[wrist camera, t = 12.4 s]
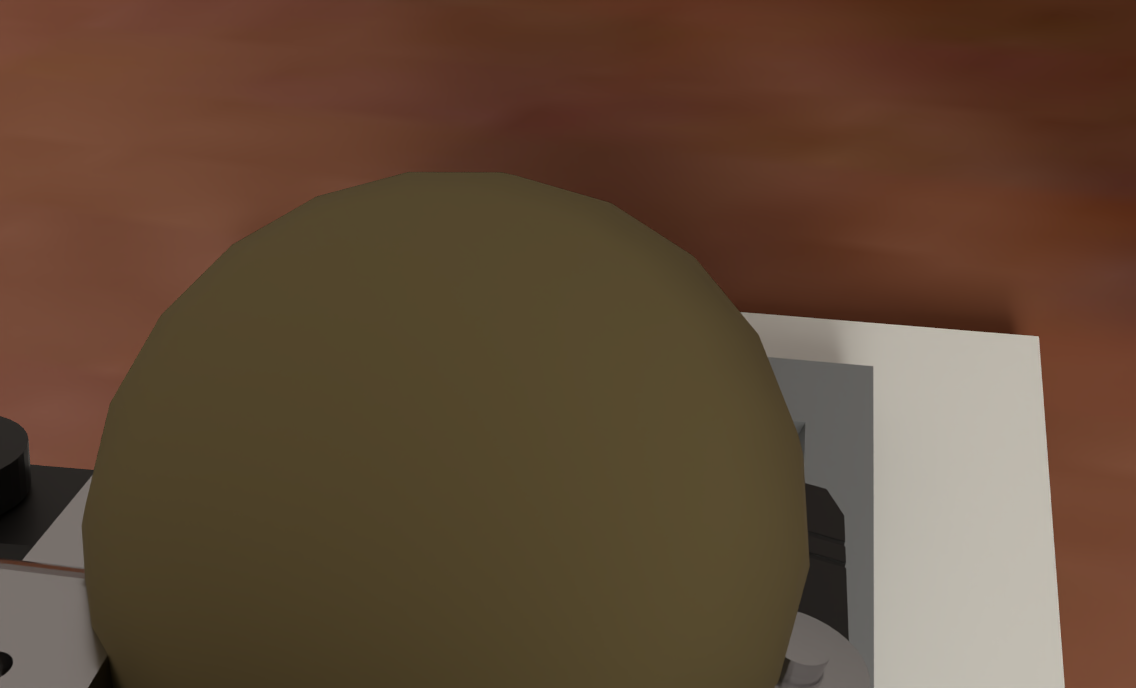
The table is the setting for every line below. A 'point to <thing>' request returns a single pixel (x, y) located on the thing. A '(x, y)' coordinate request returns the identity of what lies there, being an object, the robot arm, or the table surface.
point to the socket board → (931, 494)
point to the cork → (448, 458)
